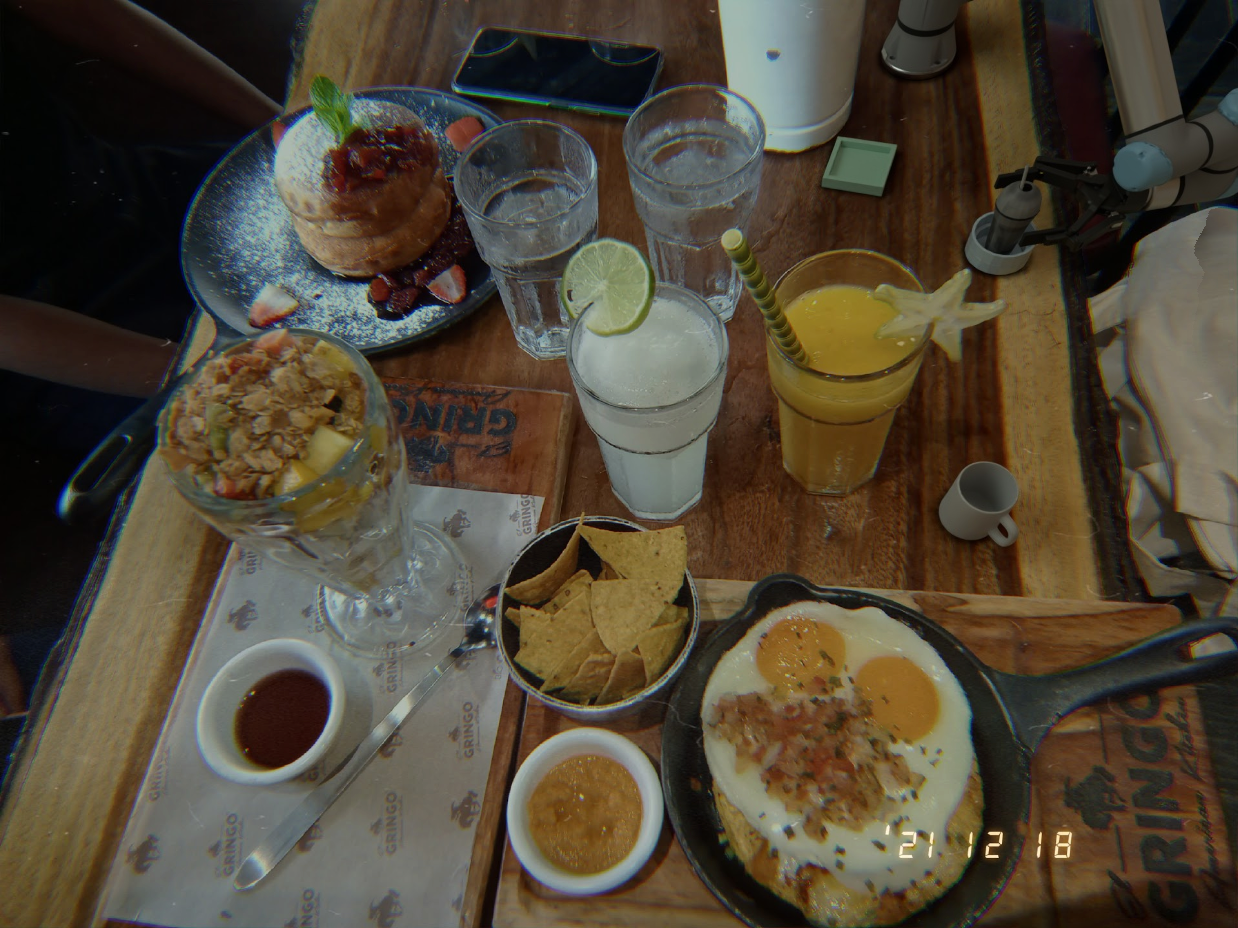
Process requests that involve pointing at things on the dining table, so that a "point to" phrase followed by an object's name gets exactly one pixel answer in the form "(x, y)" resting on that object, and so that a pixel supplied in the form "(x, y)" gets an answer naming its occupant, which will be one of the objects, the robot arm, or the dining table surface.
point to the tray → (859, 166)
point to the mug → (981, 503)
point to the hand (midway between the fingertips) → (1008, 210)
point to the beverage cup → (1013, 215)
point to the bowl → (990, 260)
